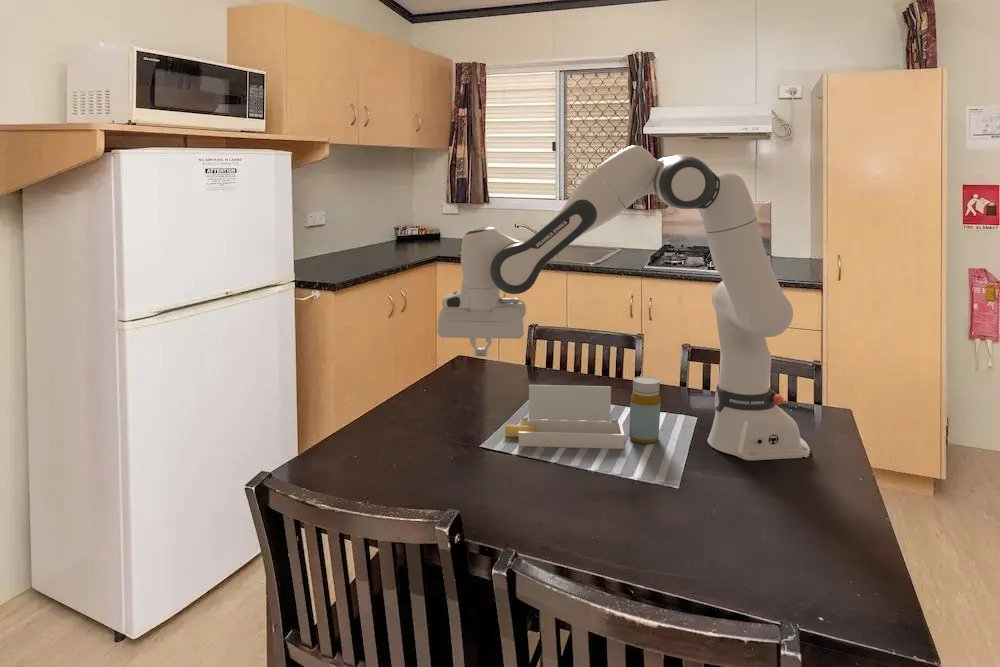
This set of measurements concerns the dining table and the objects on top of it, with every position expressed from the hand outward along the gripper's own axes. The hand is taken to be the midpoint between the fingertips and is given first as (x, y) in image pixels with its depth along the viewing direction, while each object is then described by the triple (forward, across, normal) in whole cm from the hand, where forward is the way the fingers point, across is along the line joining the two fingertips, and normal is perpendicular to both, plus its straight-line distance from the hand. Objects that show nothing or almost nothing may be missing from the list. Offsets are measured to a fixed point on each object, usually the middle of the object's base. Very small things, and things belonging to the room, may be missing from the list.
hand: (481, 355), depth 165 cm
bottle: (+21, -39, -3) cm, 45 cm away
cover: (+13, -21, -6) cm, 25 cm away
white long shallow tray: (+21, -21, -1) cm, 30 cm away
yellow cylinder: (+19, -9, -2) cm, 21 cm away
